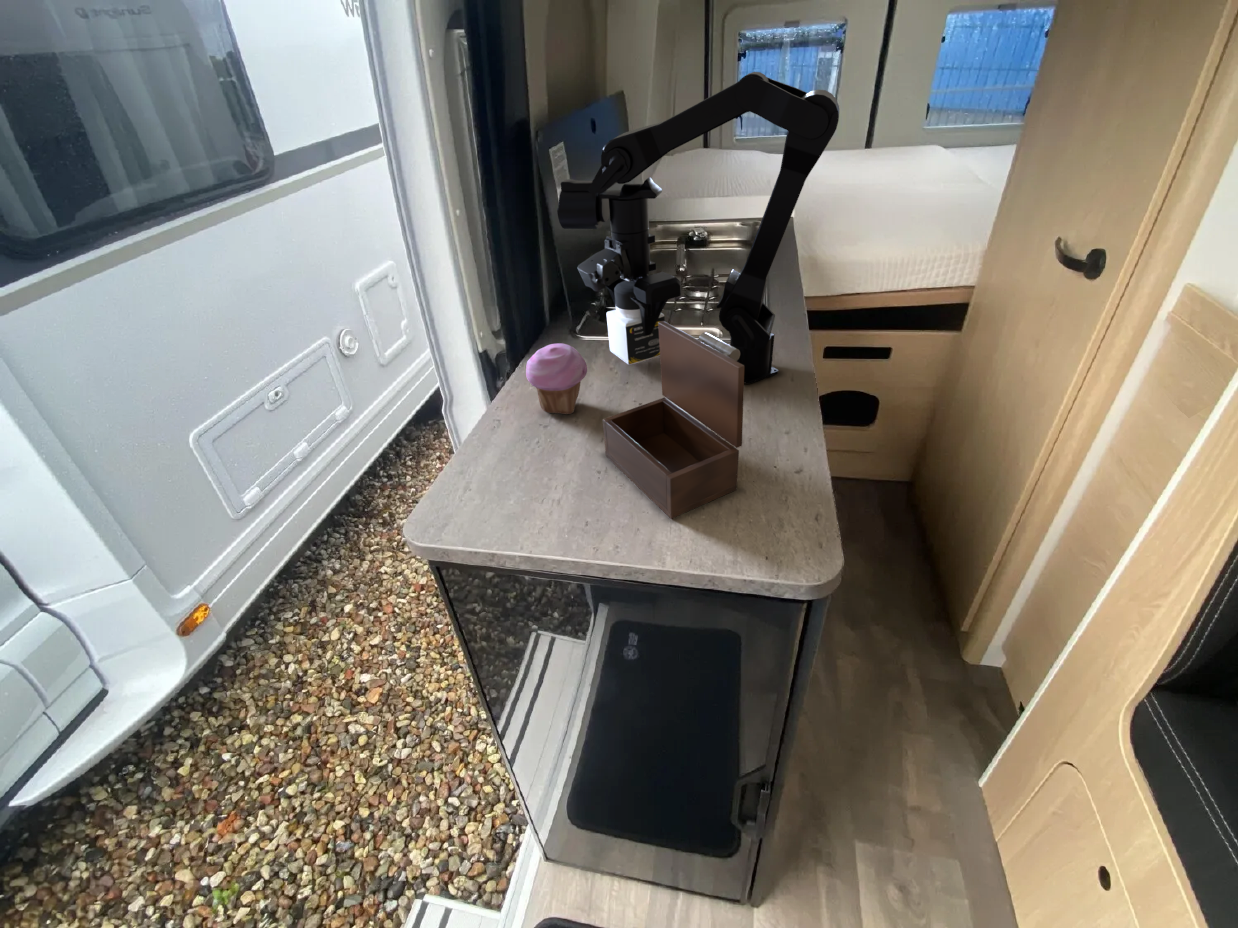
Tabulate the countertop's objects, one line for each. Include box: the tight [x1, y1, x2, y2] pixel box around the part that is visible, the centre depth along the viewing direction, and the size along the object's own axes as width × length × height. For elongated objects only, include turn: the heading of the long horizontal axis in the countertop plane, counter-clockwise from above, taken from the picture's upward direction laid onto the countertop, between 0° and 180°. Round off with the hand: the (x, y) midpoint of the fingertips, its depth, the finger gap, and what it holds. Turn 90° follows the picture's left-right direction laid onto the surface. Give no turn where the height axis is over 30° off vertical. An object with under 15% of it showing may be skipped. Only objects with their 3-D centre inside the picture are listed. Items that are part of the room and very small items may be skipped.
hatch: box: [658, 320, 745, 449], centre depth 73 cm, size 10×16×4 cm
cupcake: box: [525, 342, 588, 415], centre depth 90 cm, size 9×9×10 cm
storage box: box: [602, 396, 740, 519], centre depth 76 cm, size 10×16×6 cm, turn 30°
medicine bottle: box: [606, 281, 666, 366], centre depth 99 cm, size 7×7×12 cm
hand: (635, 327), depth 100 cm, fingers closed on medicine bottle, 7 cm apart
